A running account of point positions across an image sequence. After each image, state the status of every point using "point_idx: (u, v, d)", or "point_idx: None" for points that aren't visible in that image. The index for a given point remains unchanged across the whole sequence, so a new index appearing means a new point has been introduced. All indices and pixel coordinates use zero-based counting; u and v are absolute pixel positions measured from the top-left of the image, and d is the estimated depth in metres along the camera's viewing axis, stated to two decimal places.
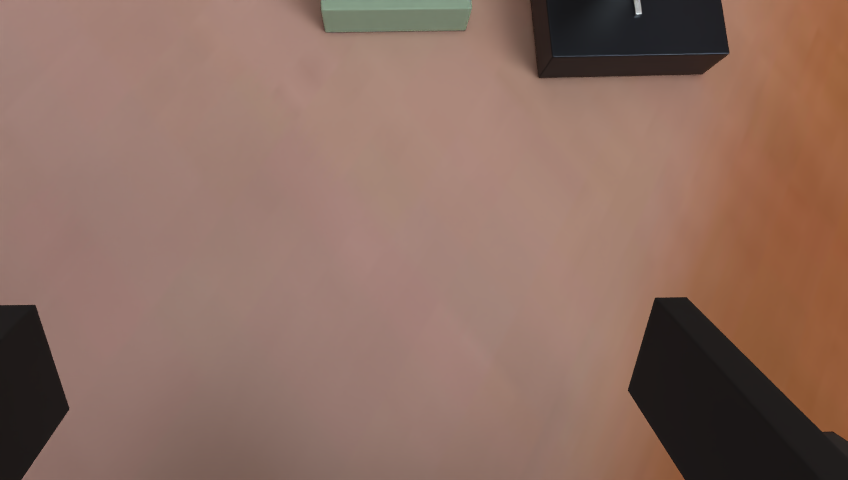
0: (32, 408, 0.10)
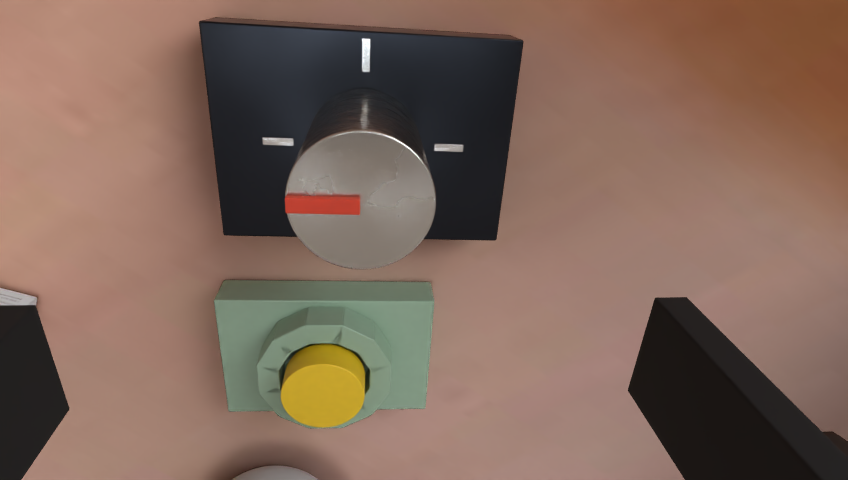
0: (32, 408, 0.10)
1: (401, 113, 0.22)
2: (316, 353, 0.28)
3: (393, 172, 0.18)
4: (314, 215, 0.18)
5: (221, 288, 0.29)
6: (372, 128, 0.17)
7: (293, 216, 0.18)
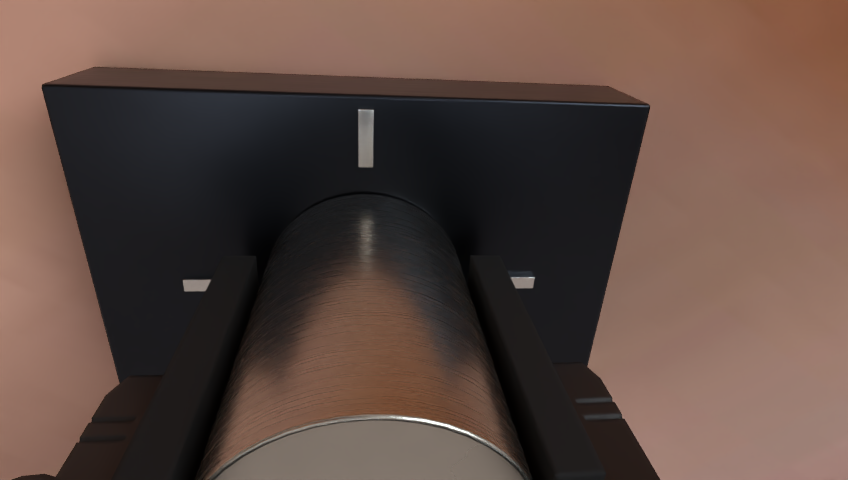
0: None
1: (437, 260, 0.11)
2: None
3: None
4: None
5: None
6: (393, 397, 0.07)
7: None
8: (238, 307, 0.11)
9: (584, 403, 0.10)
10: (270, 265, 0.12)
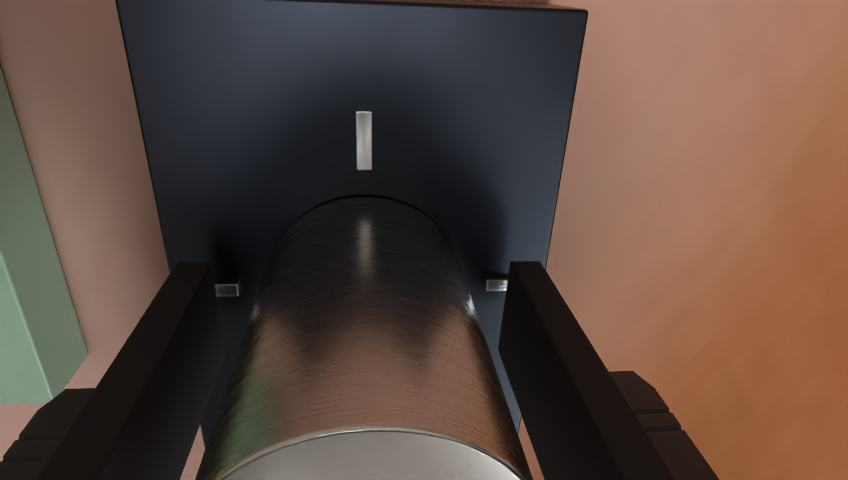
0: (210, 349, 0.12)
1: (438, 264, 0.11)
2: None
3: None
4: None
5: None
6: (392, 407, 0.07)
7: None
8: (185, 316, 0.10)
9: (641, 413, 0.09)
10: (269, 270, 0.12)
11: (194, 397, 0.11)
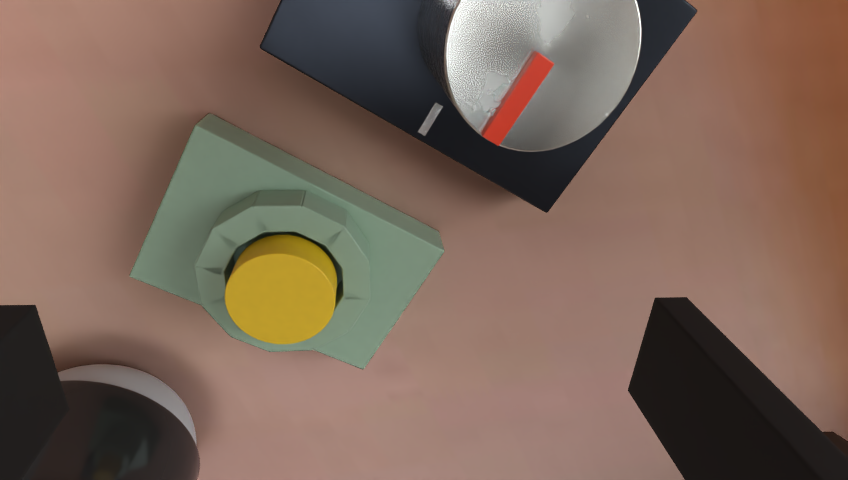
0: (32, 408, 0.10)
1: None
2: (298, 245, 0.21)
3: None
4: (521, 116, 0.14)
5: (205, 118, 0.22)
6: None
7: (507, 141, 0.14)
8: None
9: None
10: (427, 65, 0.19)
11: None
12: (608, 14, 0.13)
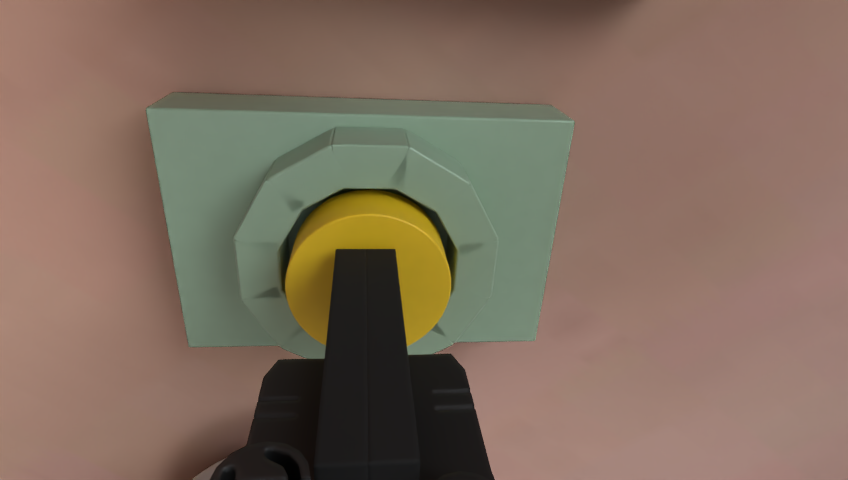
0: None
1: None
2: (355, 201, 0.14)
3: None
4: None
5: (164, 98, 0.15)
6: None
7: None
8: None
9: (441, 394, 0.10)
10: None
11: None
12: None
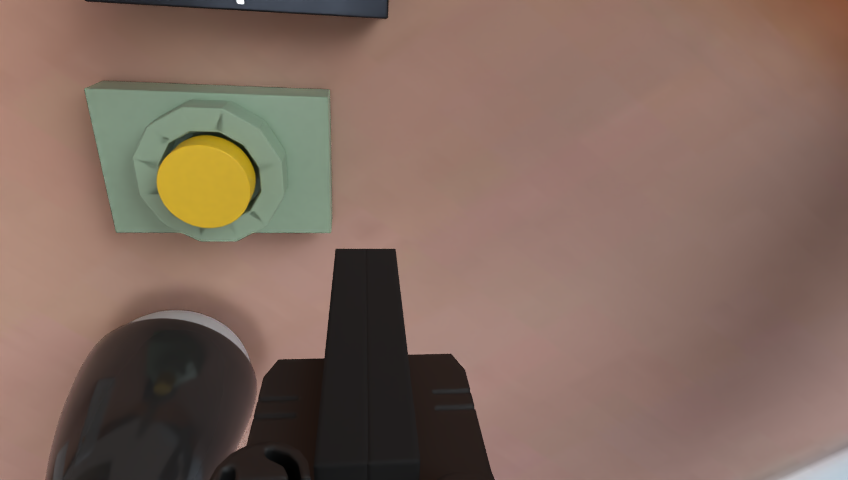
0: None
1: None
2: (195, 140, 0.26)
3: None
4: None
5: (96, 83, 0.27)
6: None
7: None
8: None
9: (440, 394, 0.10)
10: None
11: None
12: None
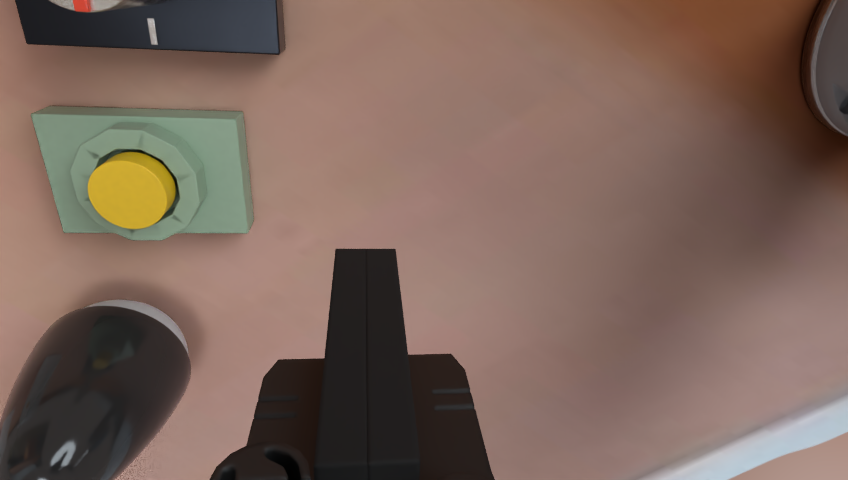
0: None
1: None
2: (120, 156, 0.31)
3: None
4: None
5: (43, 109, 0.33)
6: None
7: (97, 6, 0.23)
8: None
9: (441, 394, 0.10)
10: None
11: None
12: None
